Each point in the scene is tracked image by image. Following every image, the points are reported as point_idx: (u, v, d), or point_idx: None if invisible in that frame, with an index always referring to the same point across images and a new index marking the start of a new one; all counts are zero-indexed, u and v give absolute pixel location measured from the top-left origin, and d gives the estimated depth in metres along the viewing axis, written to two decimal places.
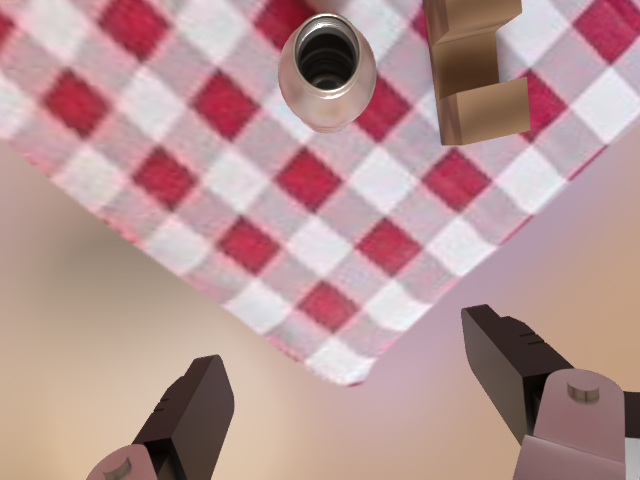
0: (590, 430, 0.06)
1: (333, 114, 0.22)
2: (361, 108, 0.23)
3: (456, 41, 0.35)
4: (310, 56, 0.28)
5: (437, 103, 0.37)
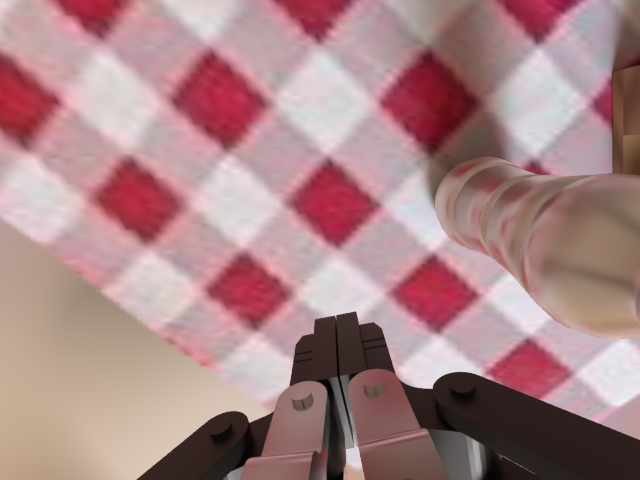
0: (391, 416, 0.07)
1: None
2: None
3: None
4: None
5: None
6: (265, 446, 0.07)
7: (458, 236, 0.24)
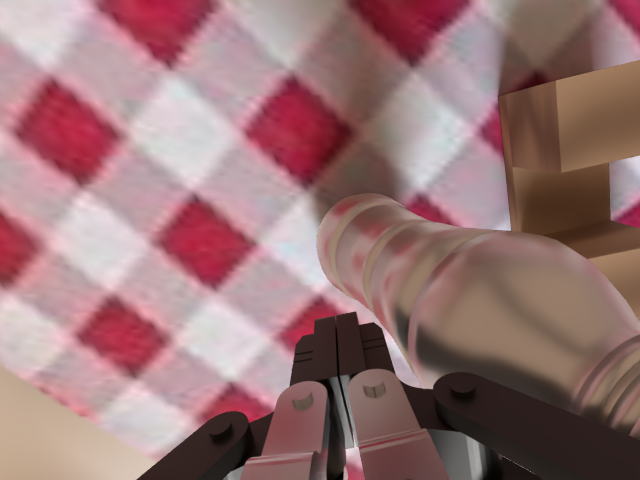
0: (391, 416, 0.07)
1: None
2: None
3: None
4: None
5: None
6: (265, 447, 0.07)
7: (343, 289, 0.20)
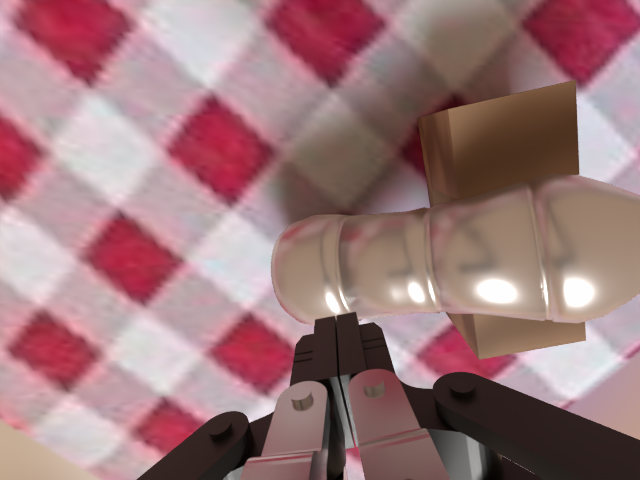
0: (391, 416, 0.07)
1: None
2: None
3: None
4: None
5: None
6: (265, 447, 0.07)
7: (337, 292, 0.18)
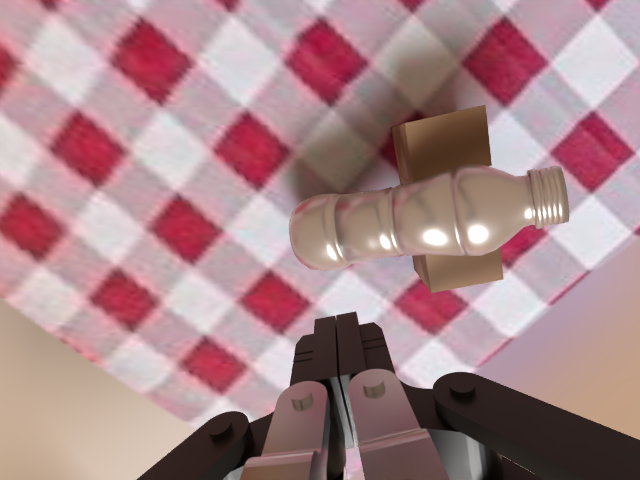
0: (391, 416, 0.07)
1: (505, 242, 0.24)
2: None
3: None
4: (395, 189, 0.28)
5: None
6: (265, 447, 0.07)
7: (333, 242, 0.28)
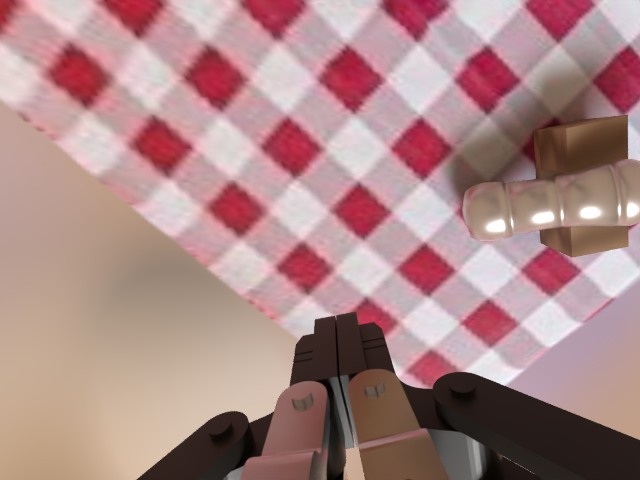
0: (391, 416, 0.07)
1: None
2: None
3: None
4: None
5: None
6: (265, 447, 0.07)
7: (509, 217, 0.37)
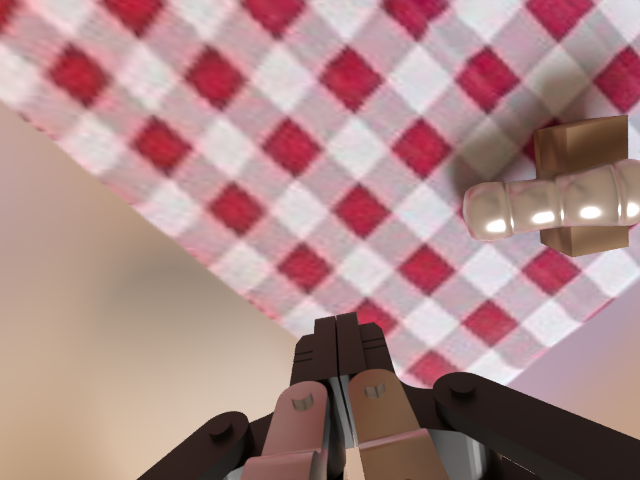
0: (391, 416, 0.07)
1: None
2: None
3: None
4: None
5: None
6: (265, 447, 0.07)
7: (509, 217, 0.37)
